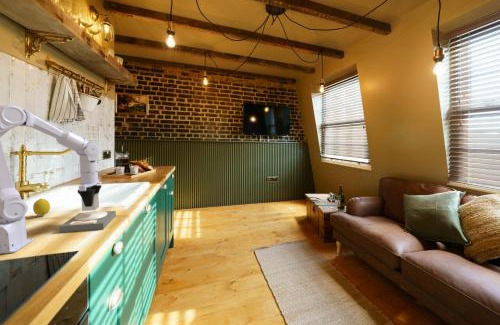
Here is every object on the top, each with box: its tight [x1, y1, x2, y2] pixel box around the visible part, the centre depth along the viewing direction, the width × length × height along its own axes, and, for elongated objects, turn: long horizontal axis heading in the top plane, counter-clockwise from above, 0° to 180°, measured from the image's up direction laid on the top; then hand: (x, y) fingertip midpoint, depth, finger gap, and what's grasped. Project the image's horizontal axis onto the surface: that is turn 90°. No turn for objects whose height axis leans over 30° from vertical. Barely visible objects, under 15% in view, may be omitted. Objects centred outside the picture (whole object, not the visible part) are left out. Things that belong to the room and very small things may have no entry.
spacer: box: [80, 193, 100, 212], centre depth 93 cm, size 4×4×6 cm
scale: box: [59, 210, 117, 234], centre depth 93 cm, size 16×14×3 cm
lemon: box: [32, 198, 51, 217], centre depth 101 cm, size 6×6×8 cm
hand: (90, 204), depth 94 cm, fingers closed on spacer, 4 cm apart
